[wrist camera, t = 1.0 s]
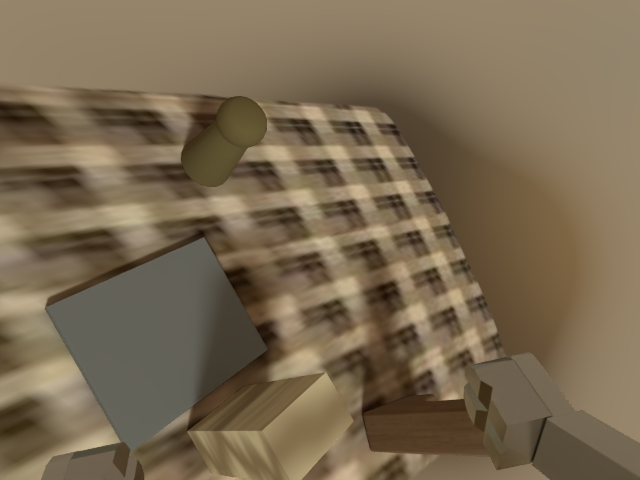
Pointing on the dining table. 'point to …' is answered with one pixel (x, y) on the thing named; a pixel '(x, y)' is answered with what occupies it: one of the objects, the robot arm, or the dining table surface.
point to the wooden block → (424, 428)
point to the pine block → (272, 429)
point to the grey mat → (157, 338)
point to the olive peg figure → (224, 141)
